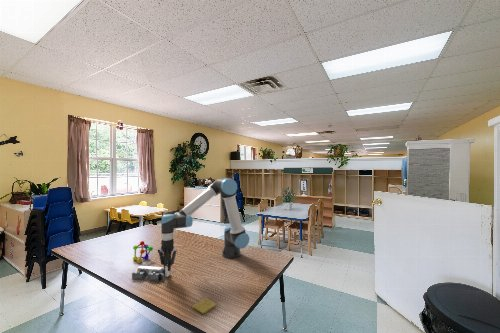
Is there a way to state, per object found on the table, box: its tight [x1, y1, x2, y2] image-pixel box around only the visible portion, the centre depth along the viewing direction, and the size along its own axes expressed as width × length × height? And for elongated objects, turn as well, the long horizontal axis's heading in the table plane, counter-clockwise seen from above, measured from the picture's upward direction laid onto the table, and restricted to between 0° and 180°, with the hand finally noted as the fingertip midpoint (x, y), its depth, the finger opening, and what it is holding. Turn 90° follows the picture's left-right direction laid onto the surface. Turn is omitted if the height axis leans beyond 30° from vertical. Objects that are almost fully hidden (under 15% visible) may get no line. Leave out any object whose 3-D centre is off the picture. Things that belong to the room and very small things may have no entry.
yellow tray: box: [192, 297, 217, 315], centre depth 110 cm, size 9×9×2 cm
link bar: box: [136, 265, 164, 279], centre depth 143 cm, size 16×4×6 cm, turn 81°
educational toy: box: [132, 240, 154, 264], centre depth 170 cm, size 16×13×15 cm
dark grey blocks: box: [131, 267, 165, 282], centre depth 143 cm, size 21×10×5 cm, turn 81°
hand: (167, 275), depth 141 cm, fingers closed
